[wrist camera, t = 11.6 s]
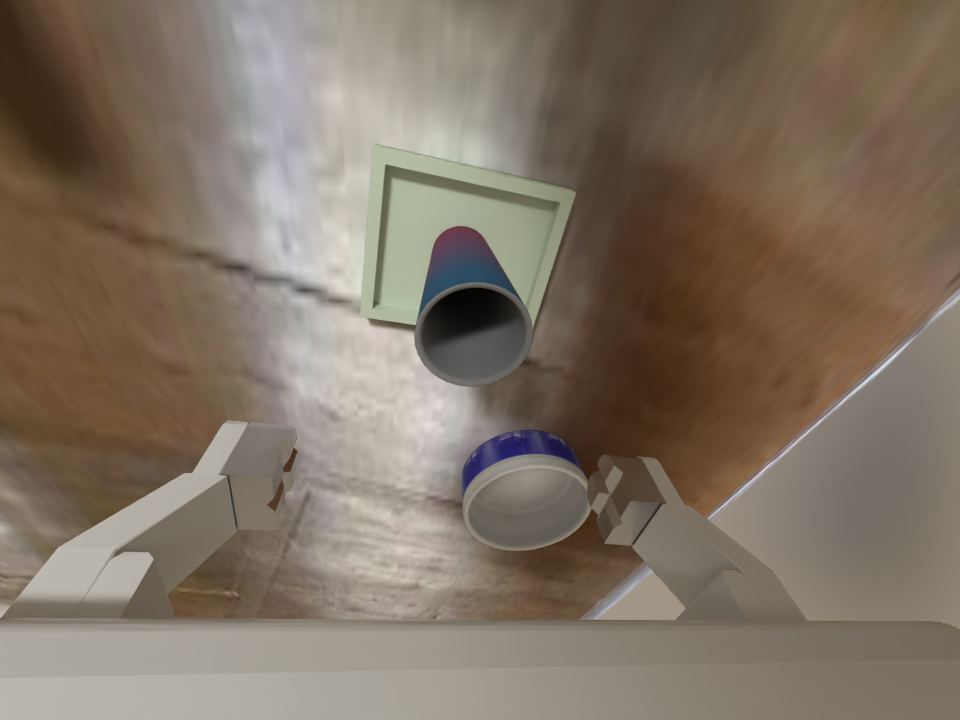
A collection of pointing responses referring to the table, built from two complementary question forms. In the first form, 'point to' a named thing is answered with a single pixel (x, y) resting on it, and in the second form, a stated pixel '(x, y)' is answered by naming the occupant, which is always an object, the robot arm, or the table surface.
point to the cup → (470, 313)
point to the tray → (448, 203)
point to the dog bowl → (524, 491)
